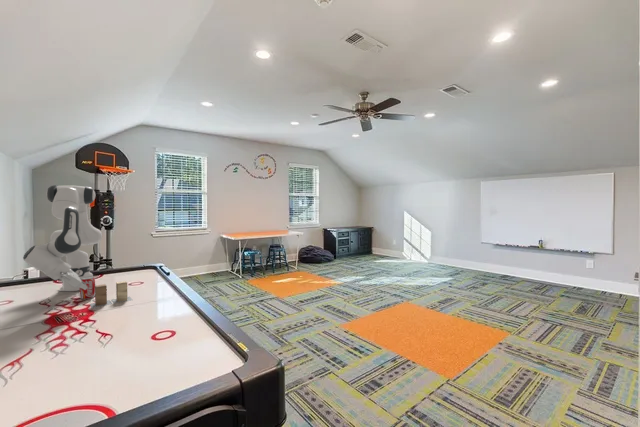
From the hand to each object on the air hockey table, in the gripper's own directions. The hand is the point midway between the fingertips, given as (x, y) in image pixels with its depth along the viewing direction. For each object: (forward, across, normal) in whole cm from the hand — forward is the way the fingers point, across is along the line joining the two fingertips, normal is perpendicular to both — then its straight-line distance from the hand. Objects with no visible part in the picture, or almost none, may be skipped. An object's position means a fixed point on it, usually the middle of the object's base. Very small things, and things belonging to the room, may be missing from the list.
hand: (85, 286), depth 152 cm
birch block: (+19, 0, -4) cm, 19 cm away
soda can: (+10, +19, +6) cm, 22 cm away
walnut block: (+12, 0, +3) cm, 12 cm away
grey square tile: (+12, 0, +3) cm, 13 cm away
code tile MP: (+19, 0, -4) cm, 19 cm away
